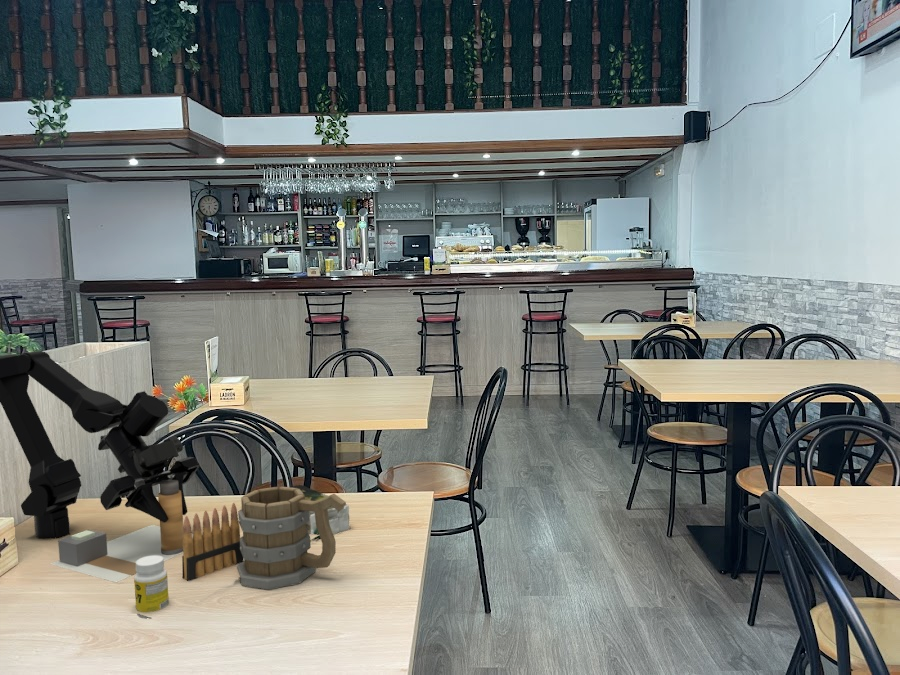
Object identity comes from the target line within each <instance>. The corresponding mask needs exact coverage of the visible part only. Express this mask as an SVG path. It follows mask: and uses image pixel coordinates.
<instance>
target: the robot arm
mask: <svg viewBox="0 0 900 675" xmlns="http://www.w3.org/2000/svg"><path fill="white" fill-rule="evenodd" d="M30 377H31V379H33V380H35V381H36V382H37V383H39V384H40V385H41V386H42V387H44V388H45V389H46V390H47V391H48V392H50V393H51V394H52V395H54V396H55V397H56V398H57V399H59V400H60V401H62V402H63V404H65V405H67V407H68V408H69V409H70V411H71V416H72V418H73V419H74V420H75V422H77V424H79V426H80V427H81V428H82V429H83V430H84V431H85V432H87V433H89V434H96V433H99V432H103V431H106V430H109V431H108V432H107V433H106V435H100V440H99V443H98V447H97V450H98V451H105V450H110V451H111V452H112V454H113V456H114V458H115V459H116V460H117V462H118V463H119V467H118V468H117V471H118V472H119V474H123V473H125V474H126V475H125V476H122V477H119V478H118V477H117V478H115V479H111V480H110V482H108V485H107V486H106V487H105V489H104V491H102V493H101V494H100V497H99V500H100V504H101V505H102V507H103V508H104V509H105V511H108V510H111V509H115V508H118V507H120V506H121V504H122V501H123V499H122V497H123V496H125V499H126V500H127V501H126V502H125V504H124V507H126V508H129V507H130V508H133V509H135V510H138V511H140V512H143V513H145V514H146V515H149V516H150V517H153V518H154V519H156V520H158V521H159V522H160V521H162V522H164V523H165V522H167V521H168V516H167V514H166V512H165V511H164V509H163V508H162V506H161V505H160V503H159V501H158V498H157V497H156V495H155V494H154V491H153V487H154V486H157V485H160V483H161V482H163V481H166V480H178V484H179V490H180V491H181V495H182V512H183V516H187V515H186V514H187V513H188V506H187V502H186V498H185V494H184V488H183V486H184V485H185V484H187V483H188V482H189V481H190V480H191V479H192V478H193V476H194V475H195V473H196V472H197V471H198V469H199V468H200V467H201V464H200V463H199V462H198V460H197V458H195V457H194V456H193V457H192V456H188V457H185V458H181V459H177V460H175V462H174V463H173V465H172V466H171V468H170V469H167V470H164V469H165V468H167V467H168V466H169V464H170V462H169V461H170V460H172V459H173V458H179V456H180V454H179V453H180V452H182V451H183V449H184V447H183V443H182V441H181V440H180V439H179V438H178V437H177V435H174V436H170V437H168V438H166V439H164V440H163V442H160V443H156V444H149V445H147V443H146V442H145V440H144V439H143V437H149V436H150V435H151V434H153V432H155V430H156V428H157V427H158V426H159V425H160V424H161V422H163V420H164V419H166V417H167V416H168V414H169V408H168V406H167V404H166V403H165V402H164V401H163V400H161V399H159V398H158V397H156V396H153V395H149V394H148V393H147V392H146V391H145V390H143V391H139V392H137V393H135V394H134V396H133V397H132V399H131V401H130V402H129V403H128V404H123V403H122V402H121V401H120V400H118V399H117V398H115V397H113V396H111V395H110V394H108V393H105V392H102V391H97V390H94V389H91V388H90V387H88V386H87V385H86V384H84V383H83V382H82V381H80V380H79V379H78V378H77V377H75V376H74V375H73V374H71V373H70V372H69V371H68V370H66V369H65V368H64V367H62V365H59V364H58V363H57V362H56V361H55V360H53V359H52V358H51V356H50V355H49V353H48V352H46V351H43V350H36V351H28V352H23V353H21V354H15V353H10V354H9V353H8V354H2V355H0V404H1V406H2V409H3V411H4V413H5V415H6V417H7V420H8V421H9V423H10V426H11V428H12V430H13V432H14V435H15V436H16V439H17V441H18V443H19V445H20V447H21V449H22V450H23V453H24V455H25V457H26V460H27V461H28V463H29V466H30V470H29V474H28V475H29V476H28V477H29V478H28V486H29V488H30V493H29V494H28V495H27V497H26V498H25V499H24V500H23V501H22V503H20V504H21V505H20V507H21V510H22V513H23V515H24V516H31V517H33V519H34V520H33V521H34V522H33V523H34V535H35V537H36V538H37V539H40V540H48V539H53V540H54V539H58V540H59V539H62V538H63V537H64V538H65V537H68V536H71V527H70V526H71V525H70V517H69V509H68V506H71V505H74V504H76V503H77V500H78V496H79V493H80V491H81V487H82V481H81V477H82V475H81V473H79V471H78V469H77V467H76V464H75V462H74V460H73V459H72V458H69V459H66V460H64V459H63V458H62V457H60V456H59V455H58V454H57V453H56V450H55V448H54V446H53V444H52V441H51V440H50V437H49V435H48V433H47V431H46V429H45V426H44V425H43V423H42V421H41V419H40V416H39V414H38V412H37V410H36V408H35V406H34V404H33V401H32V400H31V398H30V395H29V392H28V388H29V382H30Z"/></svg>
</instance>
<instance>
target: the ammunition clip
mask: <svg viewBox="0 0 900 675" xmlns="http://www.w3.org/2000/svg"><path fill="white" fill-rule="evenodd" d="M221 510H222V511H221V526H220V517H219V512H218V510H217V508H216V507H214V508H213V512H212V514H211V515H212V516H211V517H212V518H211V519H212V520H210V516H209V513H208V511H207V510H204V513H203V517H202V527H201V520H200V517H199V514H198V513H197V512H195V514H194V518H193V524H192V526H191V523H190V522H191V521H190V519H189V516H187V515H185V517H184V519H183V531H184V533H183V553H182V554H183V555H182V556H181V558H182V559H181V560H182V564H181V565H182V571H181V573H182V580H183V579H184V580H185V581H187V582H190V581H192V580H195V579H197V578H199V577H203V576H205V575H206V574H212V573H214V572H215V571H220V570H223V569H224V568H229V567H232V566H233V565H234V566H237V565H239V564H240V563H242V562H243V561H244V558H243V556H242V553H241V551H240V538H241V530H240V528H241V527H240V524H239V522H238V521H239V516H238V509H237V505H236V503H235V502H233V503H232V505H231V508H230V519H229V511H228V509H227V507H226V504H225V505H223V506H222V509H221ZM229 520H230V521H229ZM211 523H212V524H211ZM201 528H202V529H201ZM191 533H193V539H192V534H191Z"/></svg>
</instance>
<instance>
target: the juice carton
mask: <svg viewBox="0 0 900 675" xmlns="http://www.w3.org/2000/svg"><path fill="white" fill-rule="evenodd" d="M289 487H290V488H298V489H300V490H301V491H302V493H303V494H304V495H305V500H310V501H317V500H320V499H323V498H325V497H328V496H329V495H327V494H324V493H322V492H320V491H318V490H314V489H312V488H309V487H307V486H305V485H302V484H296V485H292V486H289ZM327 509H328V517H329V524H330V527H331V530H332V532H333V535H335V534H338V533H342V532H344V531H345V530H346V531H348V529H349V530H350V529H351V527H350V507H349V504H347V503H346V504H345V506H344V508H343V509H342V510H341V511H338V510H336V509H335V508H334V507H332V506H331V507H329V508H327ZM309 520H310V521H309V522H307V523H306V531H307V533H308V534H309V535H310V536H312V535H314V537H313V538H310V541H315V540H318V539H321V538H320V535H319V533H318V530H317V527H316V520H315V512H312V511H309ZM346 531H345V532H346ZM315 535H316V536H315Z"/></svg>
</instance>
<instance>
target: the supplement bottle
mask: <svg viewBox="0 0 900 675" xmlns="http://www.w3.org/2000/svg"><path fill="white" fill-rule="evenodd" d="M164 567H165V561H164V559H163V557H162V556H157V555H153V556H146V557H143V558H140V559H139V560H137V561H136V572H137V573H136V574H135V575H133V576H134V577H133V579H134V581H133V582H134V594H135V595H134V596H135V608H136V610H137V611H138V612H141V613H150V612H156V611H159V610H162V609H163V608H165V607H166V606H168V605H169V603H170V599H169V585H168V584H169V583H168V581H169V580H168V571H167V570H166V568H164ZM136 615H137V616H138V617H139V618H141V619H146V620H147V618H149V619H152V617H150V616H147V615H144V614H140V613H136Z"/></svg>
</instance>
